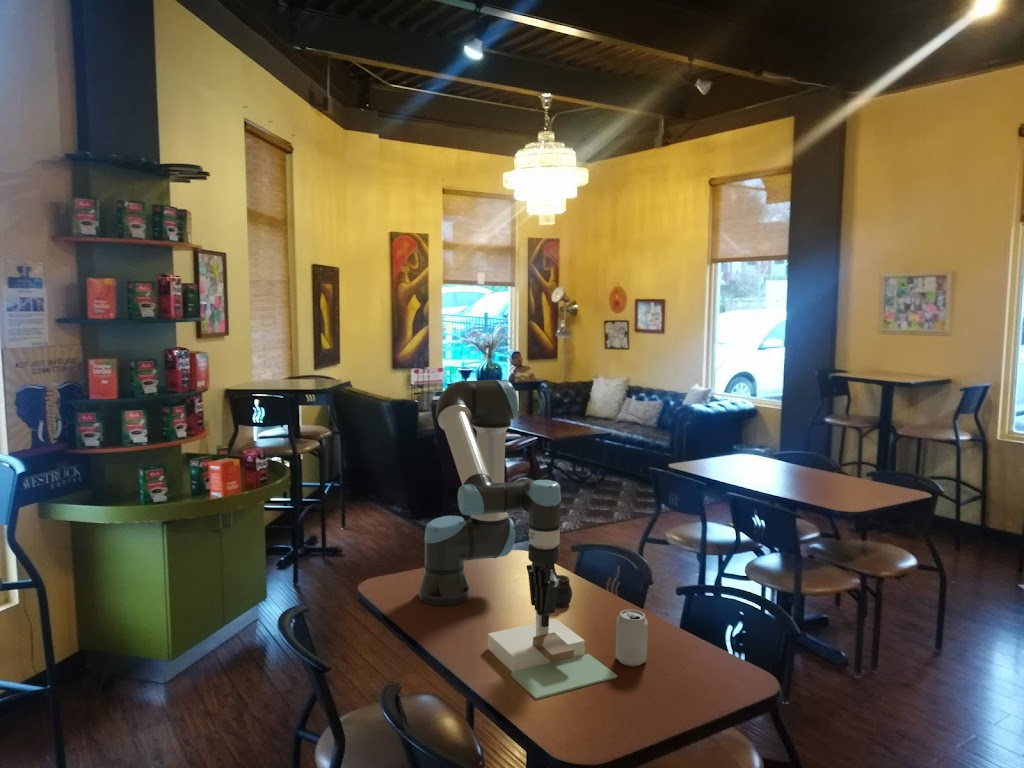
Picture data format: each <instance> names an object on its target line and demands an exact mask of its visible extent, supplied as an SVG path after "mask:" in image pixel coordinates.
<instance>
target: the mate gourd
mask: <svg viewBox="0 0 1024 768" xmlns="http://www.w3.org/2000/svg"><path fill="white" fill-rule="evenodd" d="M555 576H556V578H557V579H560V580H561V584H560V586H559V589H558V595H557V601H556V607H555V608H565V607H567V606H568V605H570V603H571V602H572V601H571V600H572V598H573V597H572V596H573V589H572V587H571V584H570V581H571V580H570V579H571V578H570V577H569V576H566V575H563V574H557V572H556V571H555Z"/></svg>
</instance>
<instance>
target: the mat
mask: <svg viewBox="0 0 1024 768" xmlns="http://www.w3.org/2000/svg"><path fill="white" fill-rule="evenodd" d="M510 676H511V678H512V679H514V680H515V681H516V682H517V683H518V684H519V685H520V686H522V687H523V688H524V690H525V691H527V692H528V694H530V696H532V697H533V698H534V699H535V701H536V700H540V699H544V698H547V697H548V698H549V697H551V696H554V695H558V694H562V693H566V692H569V691H572V690H576V689H579V688H583V687H587V686H592V685H594V684H595V685H596V684H597V683H598V684H599V683H602V682H605V681H610V680H613V679H616V678H618V675H617V674H616V673H615V672H613V671H612V670H611V669H610V668H608V667H607V666H605V665H604V664H603V663H602V662H600V661H599V660H597V659H596V657H594V656H592V655H591V654H590V653H587V654H585V655H581V656H577V657H573V658H569V659H565V660H561V661H557V662H553V663H549V664H545V665H541V666H537V667H533V668H529V669H525V670H521V671H517V672H510Z"/></svg>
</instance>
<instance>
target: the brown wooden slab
mask: <svg viewBox="0 0 1024 768" xmlns="http://www.w3.org/2000/svg"><path fill="white" fill-rule="evenodd" d="M533 645H534V646H535V647H536V648H537V649H538V650H539V651H540V652H541V653H542V654H543V655H544V656H545V657H546V658H547V659H548V660H549V661H550V662H551V663H553V662H557V661H561V660H565V659H569V658H573V654H574V649H572V648H571V647H570V646H569V645H568V644H567V643H566V642H565V641H563V640H562V639H561V638H560V637H559V636H558V635H557V634H556V633H554V632H553V633H549V634H545V635H540V636H536V637H533Z"/></svg>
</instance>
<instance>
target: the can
mask: <svg viewBox="0 0 1024 768" xmlns="http://www.w3.org/2000/svg"><path fill="white" fill-rule="evenodd" d="M648 626H649V621H648V620H647V618H646V614H645V613H644V612H643V611H640V610H637V609H629V608H628V609H624V610H622V611H620V612H619V616H618V617H617V618H616V630H615V632H616V634H615V635H616V636H615V658H616V659H617V661H618V662H620V664H623V666H628V667H638V666H641V665H642V664H644V663H645V662H646V661H647V652H648V651H647V650H648V628H649V627H648Z"/></svg>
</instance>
